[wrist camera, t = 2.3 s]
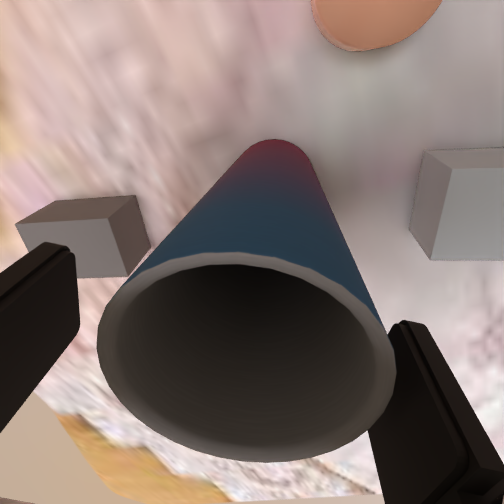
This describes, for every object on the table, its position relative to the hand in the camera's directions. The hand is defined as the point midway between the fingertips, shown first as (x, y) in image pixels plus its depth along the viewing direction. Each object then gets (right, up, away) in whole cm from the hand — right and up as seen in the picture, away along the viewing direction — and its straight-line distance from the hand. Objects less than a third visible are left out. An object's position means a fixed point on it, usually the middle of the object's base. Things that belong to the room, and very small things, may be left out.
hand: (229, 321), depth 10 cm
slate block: (+13, +6, +10) cm, 18 cm away
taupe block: (-10, +4, +14) cm, 18 cm away
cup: (+2, +7, +11) cm, 13 cm away
